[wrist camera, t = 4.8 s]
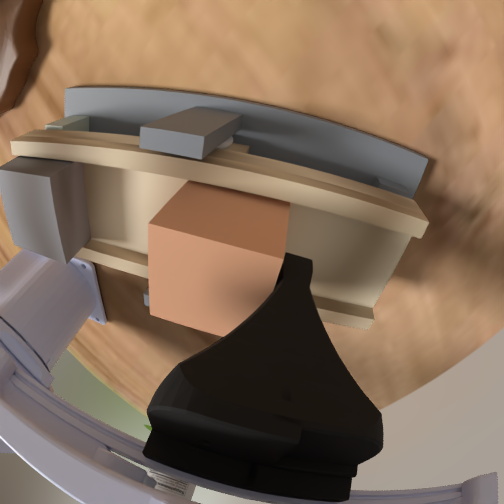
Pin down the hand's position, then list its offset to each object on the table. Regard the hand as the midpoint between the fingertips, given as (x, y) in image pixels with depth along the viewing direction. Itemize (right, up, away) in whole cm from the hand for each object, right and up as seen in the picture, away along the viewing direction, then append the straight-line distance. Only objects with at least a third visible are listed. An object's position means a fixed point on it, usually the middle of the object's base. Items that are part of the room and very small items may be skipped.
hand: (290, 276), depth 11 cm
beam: (-4, +4, +4) cm, 7 cm away
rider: (-2, +2, +2) cm, 3 cm away
